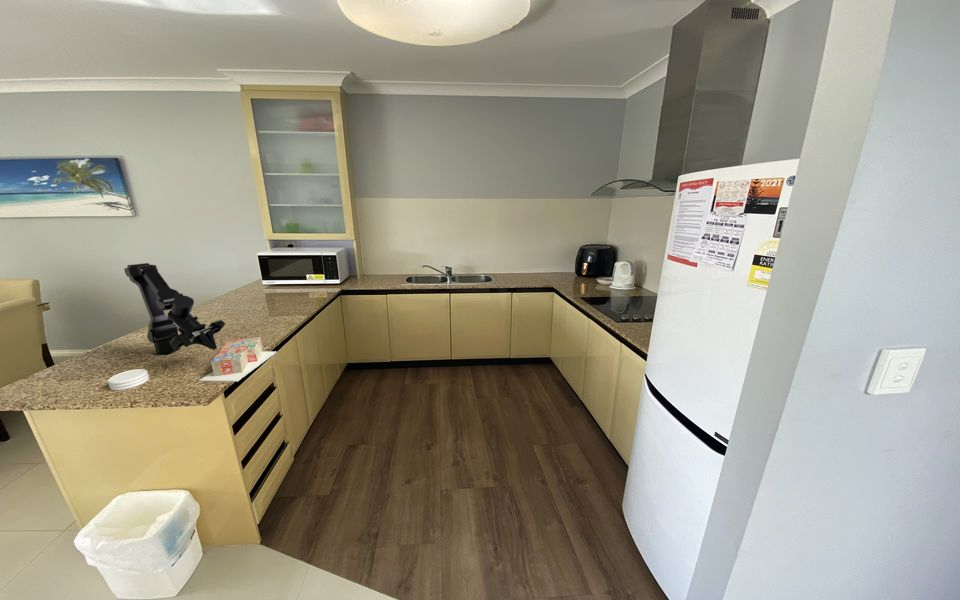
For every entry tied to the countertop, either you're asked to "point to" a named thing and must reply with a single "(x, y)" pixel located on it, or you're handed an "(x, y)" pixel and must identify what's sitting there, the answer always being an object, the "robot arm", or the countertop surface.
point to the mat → (237, 376)
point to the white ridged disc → (128, 379)
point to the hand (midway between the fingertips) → (215, 348)
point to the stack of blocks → (236, 356)
